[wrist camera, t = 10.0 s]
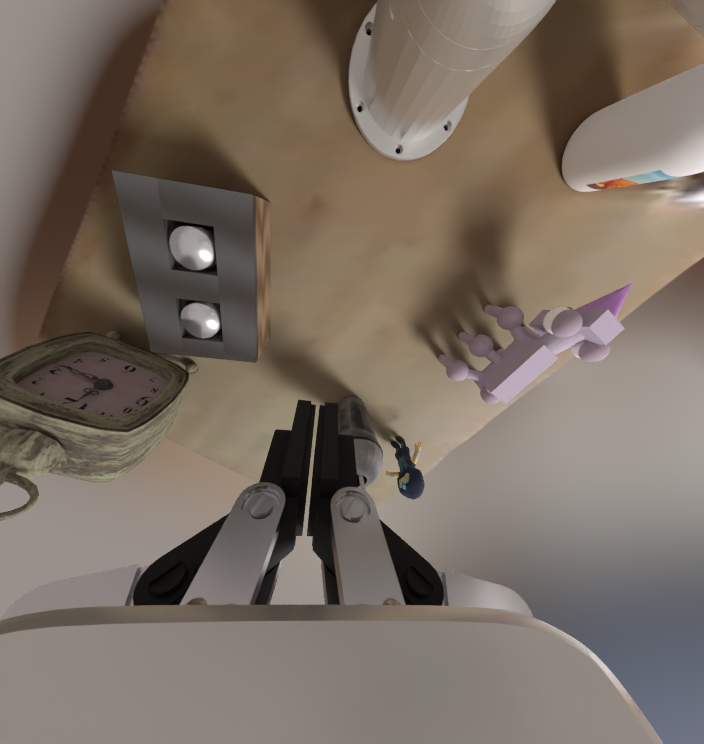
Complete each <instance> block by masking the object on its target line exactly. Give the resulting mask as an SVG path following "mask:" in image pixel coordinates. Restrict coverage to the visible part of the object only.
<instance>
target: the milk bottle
mask: <svg viewBox="0 0 704 744" xmlns="http://www.w3.org/2000/svg"><path fill="white" fill-rule="evenodd" d="M700 172H704V63H703V64H701V65H698V66H696V67H694V68H692V69H689V70H687V71H685V72H683V73H680V74H678V75H676V76H674V77H671V78H669V79H667V80H665V81H662V82H660V83H658V84H656V85H654V86H651V87H649V88H647V89H645V90H643V91H640V92H638V93H636V94H634V95H631V96H629V97H627V98H625V99H623V100H621V101H618V102H616V103H614V104H612V105H610V106H607V107H605V108H603V109H601V110H599V111H597V112H595V113H594V114H592V115H591V116H589V117H588V118H587V119H586V120H584V121H583V122H582V123H581V125H580V126H579V127H578V128H577V129H576V131H575V132H574V133H573V134H572V136H571V138H570V140H569V141H568V143H567V146H566V148H565V150H564V154H563V158H562V174H563V178H564V180H565V182H566V184H568V185H569V186H570V187H571V188H572V189H574V190H576V191H580V192H588V191H596V190H603V189H610V188H616V187H623V186H629V185H636V184H642V183H648V182H654V181H660V180H666V179H672V178H677V177H682V176H687V175H692V174H696V173H700Z"/></svg>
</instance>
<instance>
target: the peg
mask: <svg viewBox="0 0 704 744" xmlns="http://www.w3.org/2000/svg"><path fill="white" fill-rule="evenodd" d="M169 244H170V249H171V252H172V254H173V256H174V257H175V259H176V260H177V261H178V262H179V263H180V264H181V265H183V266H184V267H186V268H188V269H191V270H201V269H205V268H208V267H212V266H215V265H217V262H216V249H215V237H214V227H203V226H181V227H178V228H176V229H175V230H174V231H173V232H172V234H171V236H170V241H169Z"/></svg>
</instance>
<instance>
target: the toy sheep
mask: <svg viewBox="0 0 704 744" xmlns="http://www.w3.org/2000/svg"><path fill="white" fill-rule="evenodd" d="M631 285H632V283H631V284H629V285H627V286H625V287H623V288H621V289H618V290H616V291H614V292H612V293H610V294H608V295H606V296H603V297H601V298H599V299H597V300H595V301H593V302H591V303H588V304H586V305H584V306H582V307H580V308H578V309H576V310H572V308H570V307H558V308H555V309H552V310H542V311H541V312H540V314H539V315H538V316H537V317H536V318H535V319H534V320H533V321H532V322H531V323H530V324H529V325H530V326H531V327H532V328H533V329H534V330H535V331H536V332H537V333H538V334H539V335H540V336H539V335H538V334H536V333H535V332H533V331H532V330H530V329H529V328H528V327H526V326H523V327H521V324H522V322H523V319H524V315H523V312H522V311H521V309H519V308H517V307H514V306H509V307H505V308H500V307H499V306H498V307H497V306H493V305H487V306H486V307H485V309H484V311H485V313H486V314H489V315H492V316H495V317H497V323H498V325H499V326H500V327H501V328H503V329H506V330H510V332H511V334H512V336H513V338H514V339H515V341H513V342H512V343H511V344H510V345H509V346H508V347H507V348H506V349H505V350H504V349H498V350H497V351H494V350H493V341H492V339H491V338H490V337H488V336H486V335H477V336H475V337H473V336H471V335H469V334H468V333H466V332H461V333H459V335H458V338H459V339H460V340H461V341H463V342H464V343H466V344H467V345H469V349H470V352H471V353H472V354H473V355H475V356H478V357H484V356H485V357H486V358H487V359H488V360H490V361H491V363H490V364H489V365H488V366H487V367H486V368H485V369H484V370H483V371H477V370H473V369H469V368H468V365H467V364H466V363H465V362H464V361H461V360H454V361H452V360H451V359H450V358H448V357H447V356H446V355H445V354H441V355H440V356H439V358H438V359H439V361H440V362H441V363H442V364H443V365H444V366H445V367H446V373H447V375H448V377H449V378H450V379H452V380H454V381H461V380H464V379H465V378H469V379H473V380H474V382H475V383H476V384H477V386H478V387H479V388H480V390H481V391H480V395H481V397H482V399H483V400H484V401H485V402H487V403H497V402H499V401H500V400H501V401H502V402H504V403H505V404H506V403H507V402H508V401H510V400H511V399H512V398H513V397H514V396H515V395H517V394H518V393H519V392H520V391H521V390H522V389H523V388H525V387H526V386H527V385H528V384H529V383H530V382H532V381H533V380H534V379H535V378H536V377H537V376H539V375H540V374H541V373H542V372H543V371H544V370H545V369H547V368H548V367H549V366H550V365H551V364H552V363H554V362H555V361H556V360H557V359H558V358H557V357H556V356H555V354H557V353H559V352H562V351H564V350H566V349H568V348H571V352H572V353H573V355H575V356H576V357H578V358H580V359H582V360H584V361H588V362H595V361H599V360H602V359H604V358H605V357H606V356H607V355H608V354H609V352H610V344H609V342H610V341H611V340H612V339H613V338H614V337H615V336H617V335H618V334H619V333H620V332H621V331H622V330H623V329H624V327H623V326H622V325H621V324H620V323H619V321H618V320H617V319H616V317H617V314H618V312H619V310H620V308H621V306H622V304H623V302H624V300H625V298H626V296H627V293H628V291H629V289H630V287H631Z"/></svg>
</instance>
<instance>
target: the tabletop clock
mask: <svg viewBox="0 0 704 744" xmlns="http://www.w3.org/2000/svg"><path fill="white" fill-rule="evenodd" d="M120 340H121V334H120V333H118V332H117V331H110V332H108V333H107V334H106V336H104V335H100V334H96V333H91V332H84V333H74V334H69V335H65V336H61V337H57V338H54V339H50V340H47V341H44V342H41V343H38V344H35V345H31V346H28V347H26V348H24V349H21V350H19V351H17V352H15V353H13V354H10V355H8V356H6V357H4V358H2V359H0V485H1V484H3V483H4V482H9V483H12V484H15V485H18V486H19V487H21V488H23V489H24V490H26V491H27V492H28V494H29V495H30V499H29V501H28V502H27V503H26V504H25V505H24V506H22V507H20V508H17V509H15V510H12V511H8V512H3V513H0V521H1V520H5V519H9V518H13V517H15V516H16V515H19V514H21V513H23V512H25V511H26V510H28V509H29V508H31V507H32V506H33V505H34V504H35V503H36V501H37V498H38V496H39V493H38V489H37V486H36V485H35V484H33V483H32V482H31V481H30V480H28V479H34V478H39V477H42V476H45V475H47V474H50V473H53V474H57V475H62V476H67V477H71V478H75V479H80V480H85V481H90V482H110V481H112V480H114V479H116V478H118V477H120V476H121V475H123V474H125V473H127V472H128V471H130V470H131V469H132V468H134V467H135V466H136V465H138V464H139V463H140V462H141V461H142V460H143V459H144V458H145V457H146V456H147V455H148V454H149V453H150V452H151V451H152V450H153V449H154V448H155V447H156V446H157V445H158V444H159V443H160V441H161V440H162V439H163V437H164V436H165V434H166V433H167V431H168V430H169V429H170V427H171V425H172V423H173V421H174V419H175V416H176V413H177V410H178V408H179V405H180V402H181V399H182V396H183V393H184V391H185V388H186V385H187V382H188V379H189V374H195V373H196V372H197V371H198V367H197V365H195V364H189V365H187V366H186V370H184V369H183V368H182V367H180V366H178V365H177V364H175V363H173V362H171V361H168V360H166V359H164V358H162V357H160V356H158V355H155V354H153V353H151V352H149V351H147V350H144V349H141V348H139V347H136V346H133V345H131V344H128V343H125V342H122V341H120Z"/></svg>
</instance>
